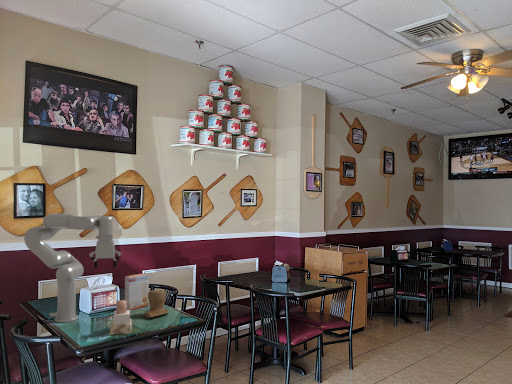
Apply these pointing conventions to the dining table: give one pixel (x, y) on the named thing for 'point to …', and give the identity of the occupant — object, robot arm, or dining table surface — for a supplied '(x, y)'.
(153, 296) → the tan piece
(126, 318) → the whitewashed block
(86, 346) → the dining table surface
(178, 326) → the dining table surface
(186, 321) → the dining table surface
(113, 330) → the maple base block
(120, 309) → the terracotta cylinder
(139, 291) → the cracker box
